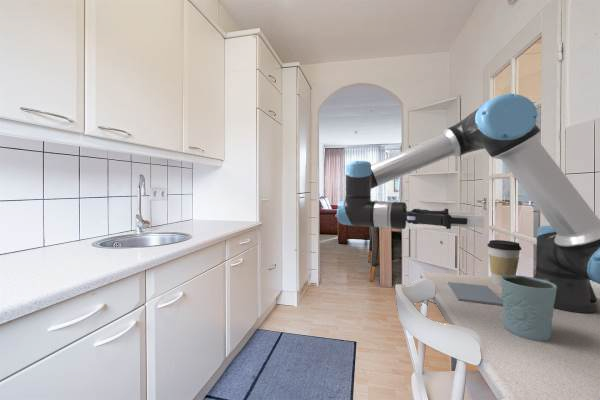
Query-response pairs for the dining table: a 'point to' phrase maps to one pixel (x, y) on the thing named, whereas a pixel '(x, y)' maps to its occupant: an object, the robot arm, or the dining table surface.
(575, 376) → the dining table surface
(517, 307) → the embossed teal cup
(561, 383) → the dining table surface
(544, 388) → the dining table surface
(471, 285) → the slate mat
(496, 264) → the coffee cup
